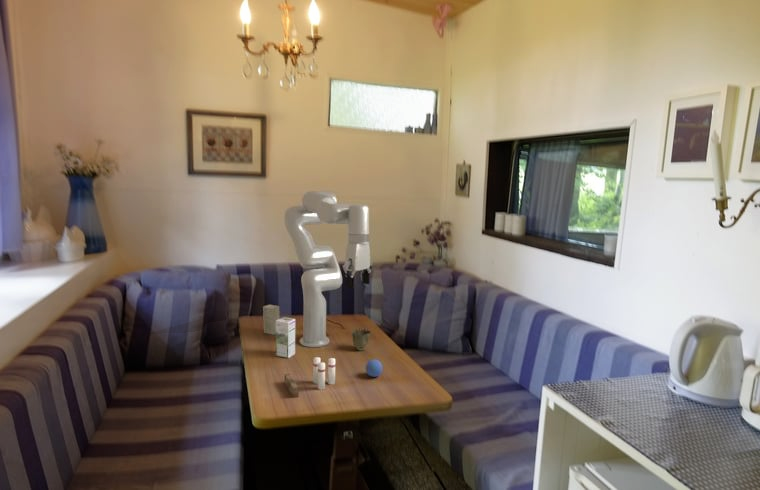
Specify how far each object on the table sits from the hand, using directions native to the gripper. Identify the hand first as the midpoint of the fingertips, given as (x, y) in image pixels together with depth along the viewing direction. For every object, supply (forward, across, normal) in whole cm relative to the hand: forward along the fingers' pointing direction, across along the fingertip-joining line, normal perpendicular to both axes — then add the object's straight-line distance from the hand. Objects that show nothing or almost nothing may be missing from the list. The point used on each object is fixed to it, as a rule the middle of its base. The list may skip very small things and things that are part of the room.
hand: (358, 285), depth 174 cm
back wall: (+31, +28, -7) cm, 43 cm away
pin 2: (+31, +22, 0) cm, 38 cm away
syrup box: (+30, +7, -30) cm, 43 cm away
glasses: (+30, -28, -38) cm, 56 cm away
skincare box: (+29, -9, -54) cm, 62 cm away
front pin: (+31, +16, 0) cm, 35 cm away
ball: (+28, +3, +9) cm, 30 cm away
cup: (+31, -16, -10) cm, 36 cm away
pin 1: (+31, +19, -4) cm, 37 cm away
